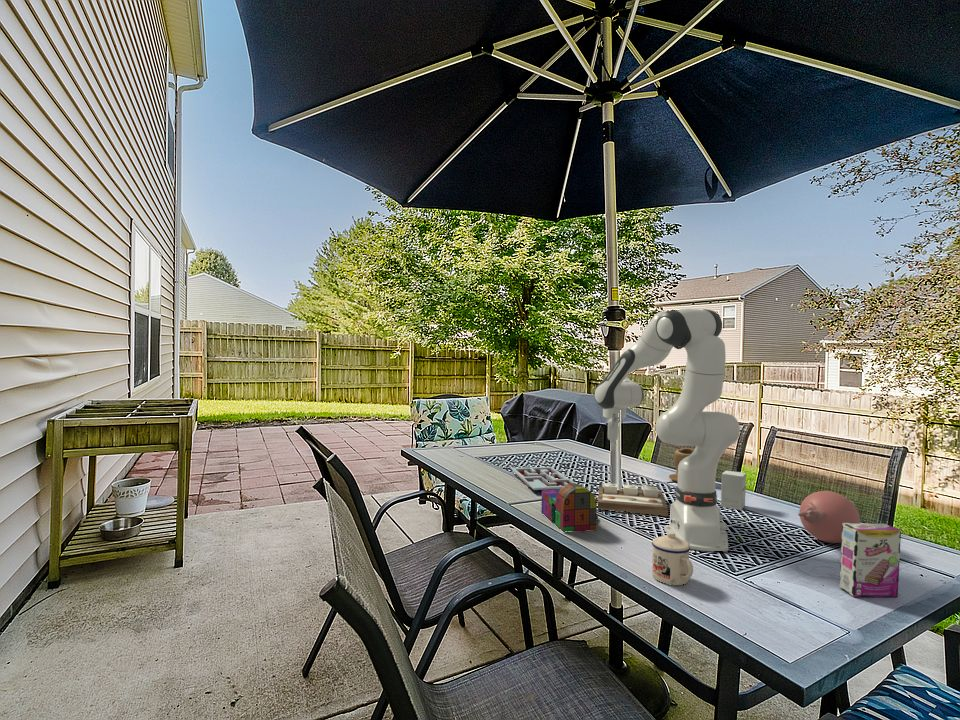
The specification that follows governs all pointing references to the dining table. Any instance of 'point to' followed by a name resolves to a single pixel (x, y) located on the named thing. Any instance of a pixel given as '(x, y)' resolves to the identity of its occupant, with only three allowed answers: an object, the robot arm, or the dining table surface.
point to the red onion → (827, 515)
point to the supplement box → (733, 490)
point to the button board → (632, 502)
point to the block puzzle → (570, 508)
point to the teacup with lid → (671, 560)
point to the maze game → (541, 478)
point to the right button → (650, 491)
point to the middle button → (630, 490)
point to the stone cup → (678, 457)
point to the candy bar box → (870, 560)
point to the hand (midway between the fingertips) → (613, 447)
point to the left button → (610, 488)
